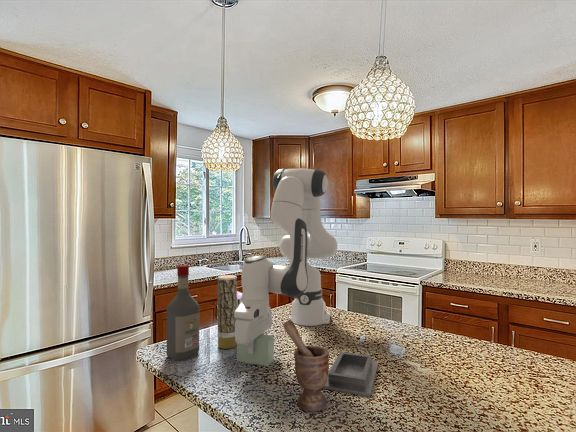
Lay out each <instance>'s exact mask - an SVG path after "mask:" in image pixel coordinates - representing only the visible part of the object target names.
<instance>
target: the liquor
mask: <svg viewBox="0 0 576 432" xmlns="http://www.w3.org/2000/svg"><path fill="white" fill-rule="evenodd" d="M176 267H177V272H176V273H177V292H176V294H175V295H176V296H174V298H173V299H172V300H171V301H170V302H169V303H168V305H167V307H166V356H167V357H168V358H169V359H171V360H173V361H175V362H178V361H179V362H184V361H187V360H189V359H192V358H195V357H197V356H198V354H199V352H200V305H199V303H198V301H197V300H196V299H195V298H194V297H193V296H192V295H191V294H190V291H189V275H190V274H189V273H190V269H189V265H186V264H184V265H183V264H182V265H177V266H176Z"/></svg>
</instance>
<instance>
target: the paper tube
mask: <svg viewBox="0 0 576 432" xmlns="http://www.w3.org/2000/svg"><path fill="white" fill-rule="evenodd" d="M237 281H238V277H237V275H234V274H229V275H228V274H225V275H224V274H223V275H219V276H217V346H218V348H219V349H223V350H230V349H233V348H235V347H237V343H236V341H235V321H236V319H237V318H234V312H235V310H236V309H237V291H238V288H237V287H238V282H237Z"/></svg>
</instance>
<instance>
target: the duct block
mask: <svg viewBox="0 0 576 432" xmlns="http://www.w3.org/2000/svg"><path fill="white" fill-rule="evenodd" d="M253 347H255V352H254V353H253V354H249V353H248V348H247V345H246V346H244V345H238V344H237V345H236V362H240V363H245V364H251V365H257V364H258V366H263V365H264V366H266V367H269V366H270V365H271V364H272V363H273V362H274V361H275V351H274V350H275V348H274V347H275V336H274V335H270V334H265V333H264V334H261V335H260V336H258V337H257V338H256V339H254V343H253Z"/></svg>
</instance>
